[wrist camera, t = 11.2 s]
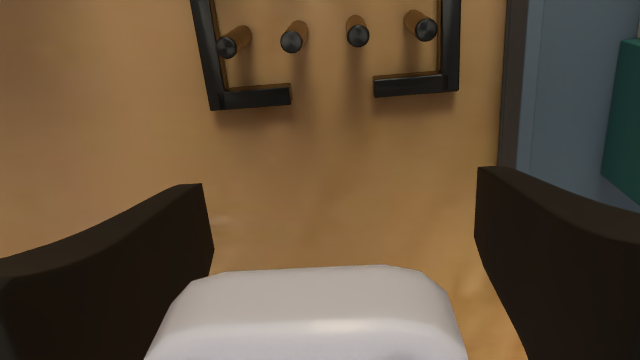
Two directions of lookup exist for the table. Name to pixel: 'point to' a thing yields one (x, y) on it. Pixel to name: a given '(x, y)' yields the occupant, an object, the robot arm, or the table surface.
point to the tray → (563, 91)
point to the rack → (293, 40)
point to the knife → (625, 123)
